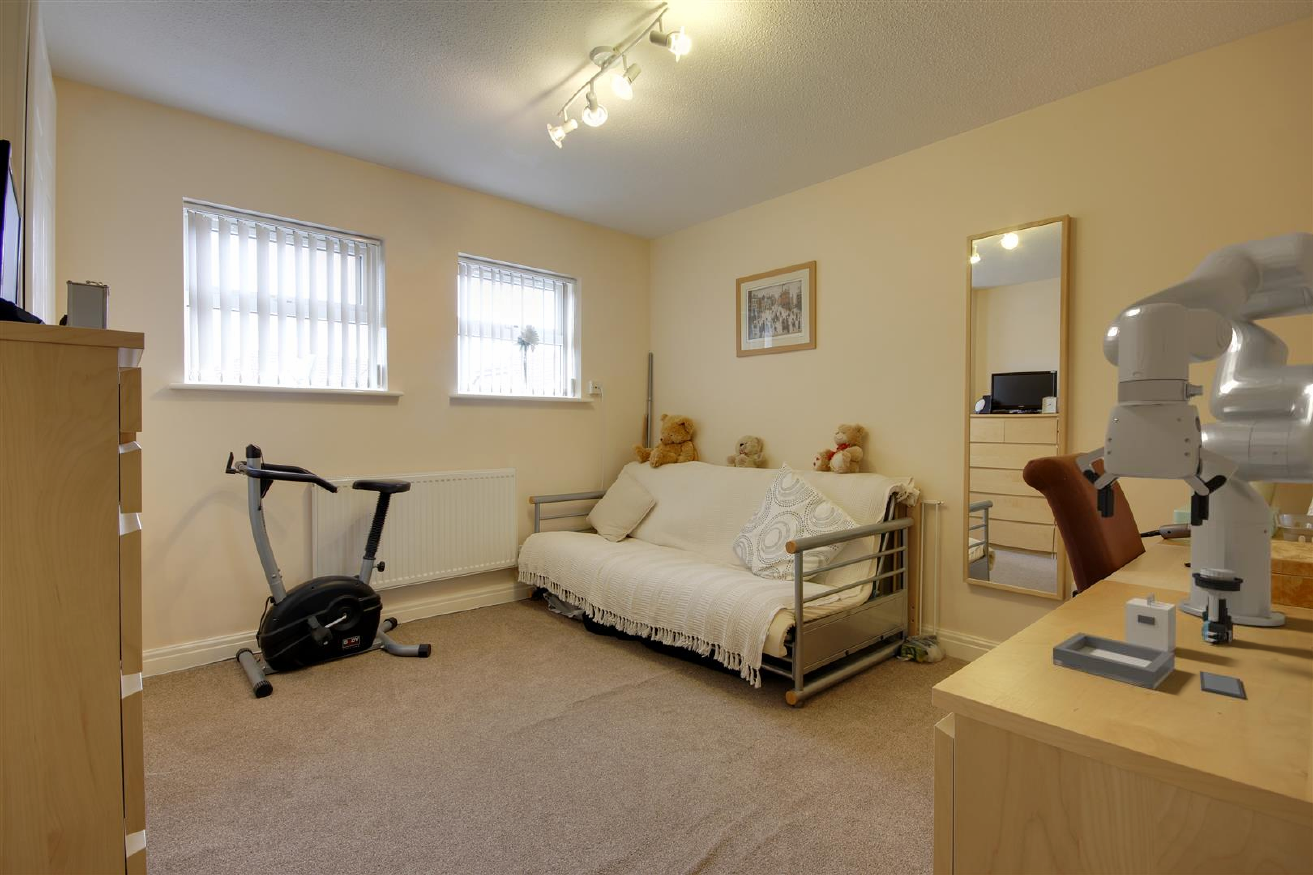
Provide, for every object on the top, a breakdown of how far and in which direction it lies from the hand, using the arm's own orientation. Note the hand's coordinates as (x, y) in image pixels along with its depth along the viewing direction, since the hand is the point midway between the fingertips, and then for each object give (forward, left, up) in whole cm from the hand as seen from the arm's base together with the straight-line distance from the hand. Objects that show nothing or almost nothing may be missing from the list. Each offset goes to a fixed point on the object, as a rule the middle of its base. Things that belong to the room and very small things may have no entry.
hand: (1150, 520), depth 82 cm
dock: (+13, -1, -17) cm, 21 cm away
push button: (-11, +5, -18) cm, 21 cm away
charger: (0, 0, -17) cm, 17 cm away
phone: (+10, +9, -18) cm, 22 cm away
